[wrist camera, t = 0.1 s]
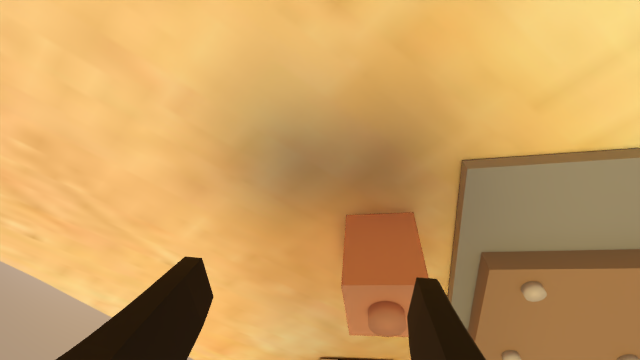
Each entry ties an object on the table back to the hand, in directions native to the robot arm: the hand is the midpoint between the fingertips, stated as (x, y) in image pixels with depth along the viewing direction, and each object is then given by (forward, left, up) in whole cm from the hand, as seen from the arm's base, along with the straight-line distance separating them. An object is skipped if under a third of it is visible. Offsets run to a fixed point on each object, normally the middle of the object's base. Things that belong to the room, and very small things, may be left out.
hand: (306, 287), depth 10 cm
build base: (-13, -16, -10) cm, 23 cm away
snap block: (-7, -3, -10) cm, 13 cm away
